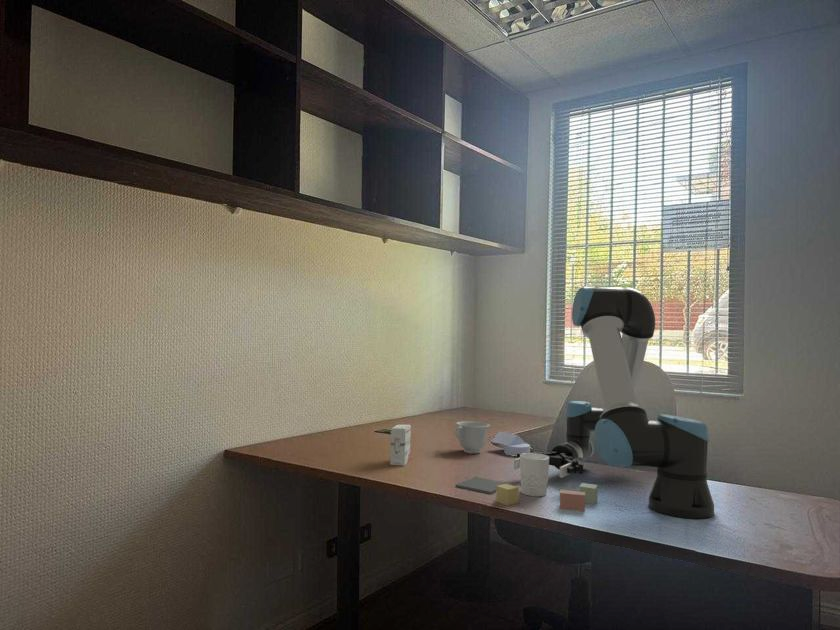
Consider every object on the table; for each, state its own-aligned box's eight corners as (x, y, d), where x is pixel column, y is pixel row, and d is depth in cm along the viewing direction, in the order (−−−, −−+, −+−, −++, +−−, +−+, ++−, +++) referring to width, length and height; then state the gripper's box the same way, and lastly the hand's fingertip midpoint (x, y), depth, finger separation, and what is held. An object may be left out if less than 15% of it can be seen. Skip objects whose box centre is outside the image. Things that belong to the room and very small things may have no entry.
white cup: (513, 490, 162) (514, 453, 163) (537, 488, 165) (538, 452, 165) (529, 498, 155) (530, 460, 155) (554, 496, 158) (555, 458, 158)
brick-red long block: (584, 508, 149) (584, 492, 149) (584, 511, 146) (585, 495, 146) (560, 505, 150) (560, 489, 150) (559, 509, 147) (560, 492, 147)
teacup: (442, 452, 208) (443, 423, 209) (469, 446, 219) (470, 419, 219) (469, 458, 200) (470, 428, 200) (495, 452, 211) (496, 424, 211)
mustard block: (518, 502, 151) (518, 487, 151) (507, 505, 149) (508, 489, 149) (506, 499, 154) (506, 483, 154) (496, 501, 152) (496, 486, 152)
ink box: (396, 459, 196) (397, 423, 196) (410, 460, 195) (411, 424, 195) (389, 465, 187) (390, 427, 187) (404, 466, 186) (405, 428, 186)
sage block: (597, 500, 156) (597, 485, 156) (594, 504, 152) (595, 488, 152) (581, 497, 157) (582, 482, 157) (579, 501, 154) (579, 486, 154)
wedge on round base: (490, 451, 213) (517, 458, 203) (491, 432, 213) (518, 438, 203) (508, 448, 219) (535, 455, 209) (508, 430, 219) (535, 435, 209)
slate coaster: (509, 485, 167) (509, 483, 167) (491, 494, 158) (491, 491, 158) (475, 478, 173) (475, 476, 173) (455, 486, 164) (455, 484, 164)
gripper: (606, 475, 174) (581, 490, 156) (528, 461, 188) (496, 474, 171) (607, 449, 174) (581, 461, 157) (528, 438, 188) (497, 448, 171)
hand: (537, 468), depth 164 cm, fingers open, 13 cm apart
